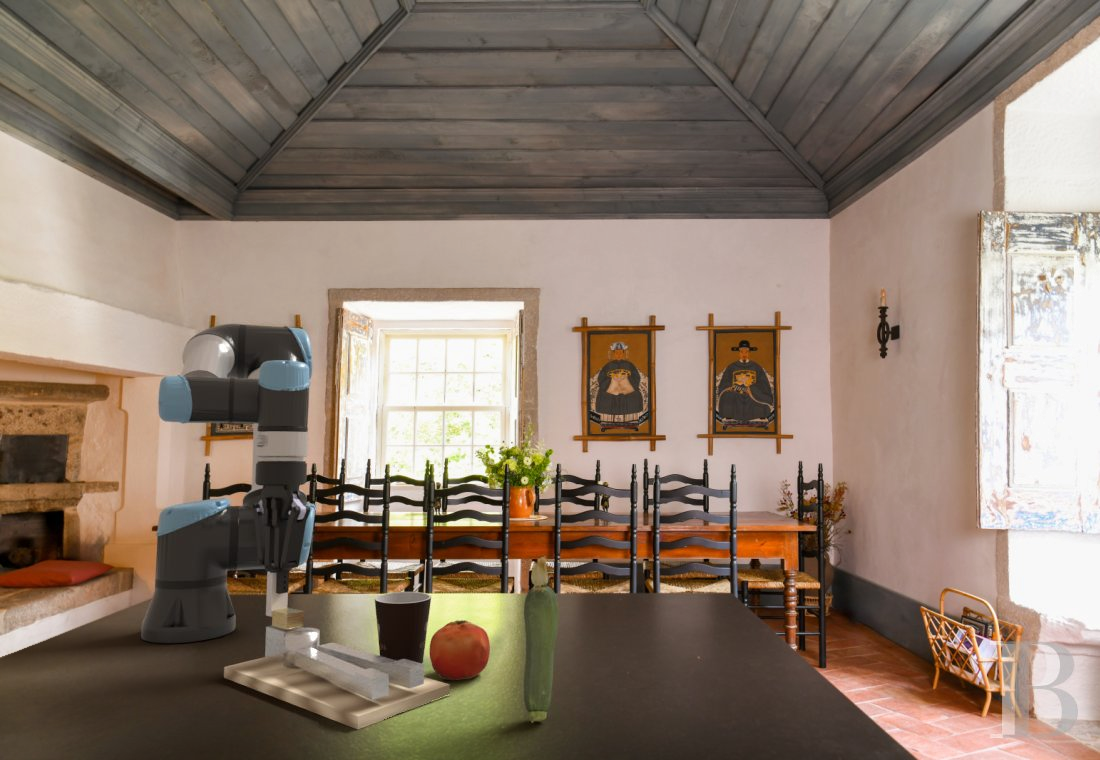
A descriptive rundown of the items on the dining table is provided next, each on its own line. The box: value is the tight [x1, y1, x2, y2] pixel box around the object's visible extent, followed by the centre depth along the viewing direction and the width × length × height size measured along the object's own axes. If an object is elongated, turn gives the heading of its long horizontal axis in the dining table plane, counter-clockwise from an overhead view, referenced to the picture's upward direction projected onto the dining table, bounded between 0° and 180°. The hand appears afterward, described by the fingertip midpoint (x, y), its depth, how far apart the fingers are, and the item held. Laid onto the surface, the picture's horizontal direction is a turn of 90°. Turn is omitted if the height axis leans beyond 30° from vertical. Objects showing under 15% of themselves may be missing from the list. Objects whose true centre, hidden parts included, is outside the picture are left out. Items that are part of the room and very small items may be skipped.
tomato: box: [429, 619, 491, 681], centre depth 108 cm, size 9×9×8 cm
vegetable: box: [523, 555, 560, 724], centre depth 92 cm, size 4×4×20 cm
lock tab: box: [271, 607, 305, 630], centre depth 112 cm, size 4×3×2 cm
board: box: [223, 656, 451, 730], centre depth 103 cm, size 31×15×2 cm, turn 52°
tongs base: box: [264, 624, 425, 689], centre depth 104 cm, size 30×5×4 cm, turn 52°
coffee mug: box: [374, 591, 432, 664], centre depth 116 cm, size 12×9×10 cm
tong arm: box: [295, 648, 389, 700], centre depth 99 cm, size 20×2×2 cm, turn 46°
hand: (276, 614), depth 113 cm, fingers closed
